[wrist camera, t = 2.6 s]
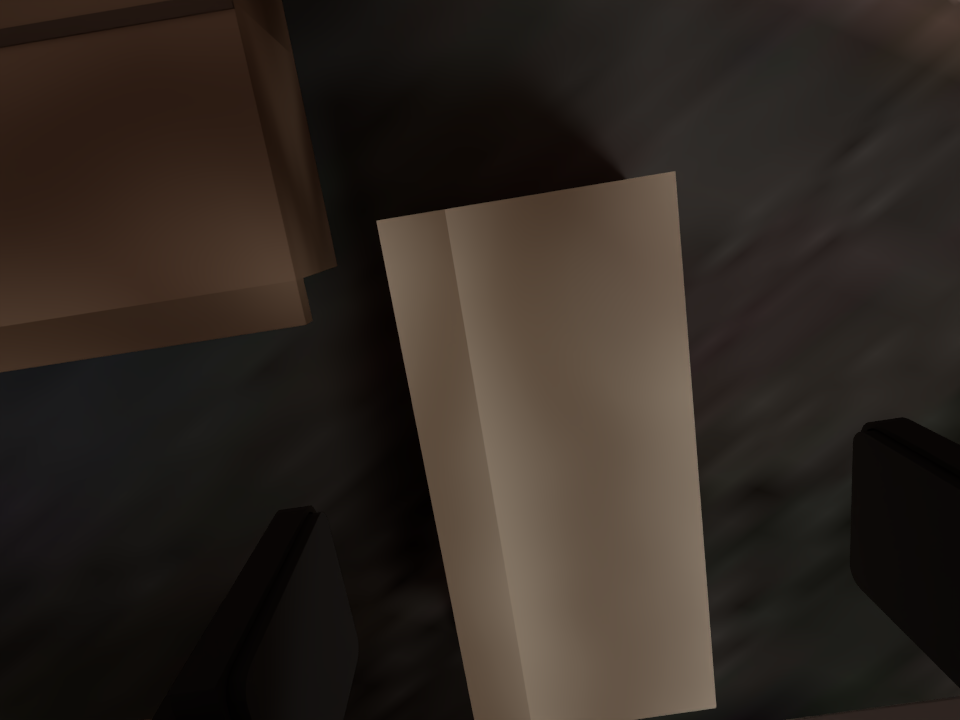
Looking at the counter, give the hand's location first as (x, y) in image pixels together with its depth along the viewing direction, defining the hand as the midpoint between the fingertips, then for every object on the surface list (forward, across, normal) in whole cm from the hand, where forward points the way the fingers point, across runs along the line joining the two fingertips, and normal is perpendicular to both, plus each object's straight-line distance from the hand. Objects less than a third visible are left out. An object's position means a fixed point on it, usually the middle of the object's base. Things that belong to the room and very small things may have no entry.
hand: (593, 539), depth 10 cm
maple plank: (+8, -1, +1) cm, 8 cm away
